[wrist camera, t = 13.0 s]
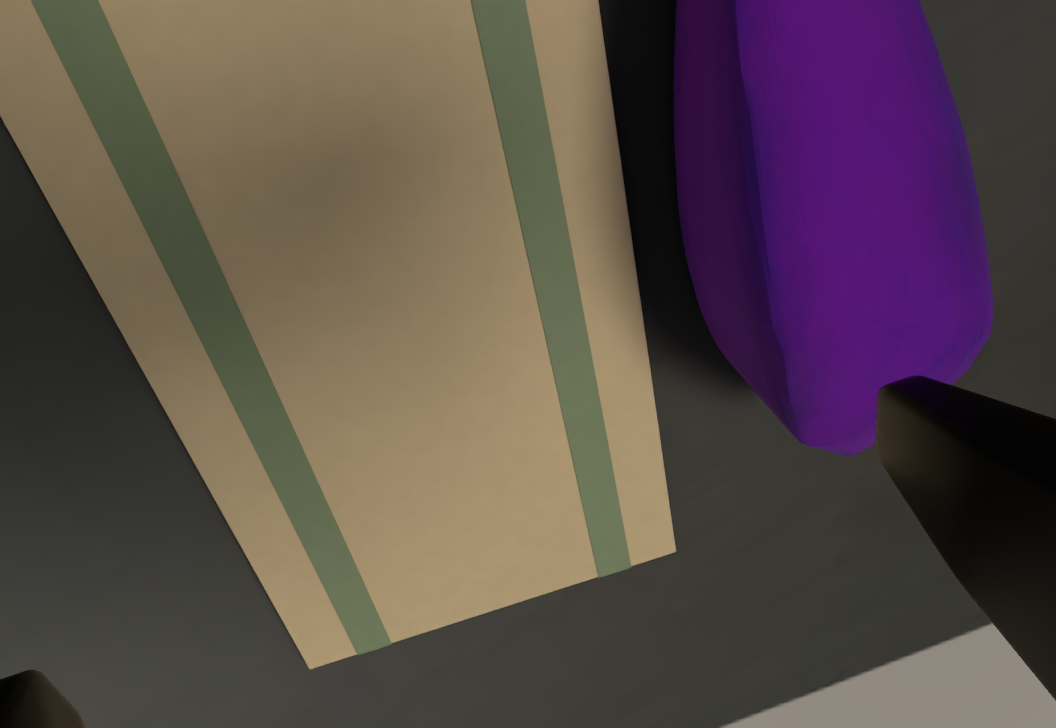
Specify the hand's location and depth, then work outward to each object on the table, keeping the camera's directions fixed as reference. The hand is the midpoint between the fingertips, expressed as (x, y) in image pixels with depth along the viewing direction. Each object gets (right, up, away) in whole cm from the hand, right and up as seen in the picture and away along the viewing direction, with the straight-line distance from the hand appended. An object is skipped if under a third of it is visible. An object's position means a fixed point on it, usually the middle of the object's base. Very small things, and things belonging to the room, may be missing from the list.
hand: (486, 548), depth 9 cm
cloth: (-3, +3, +10) cm, 11 cm away
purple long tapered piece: (+5, +7, +10) cm, 13 cm away
